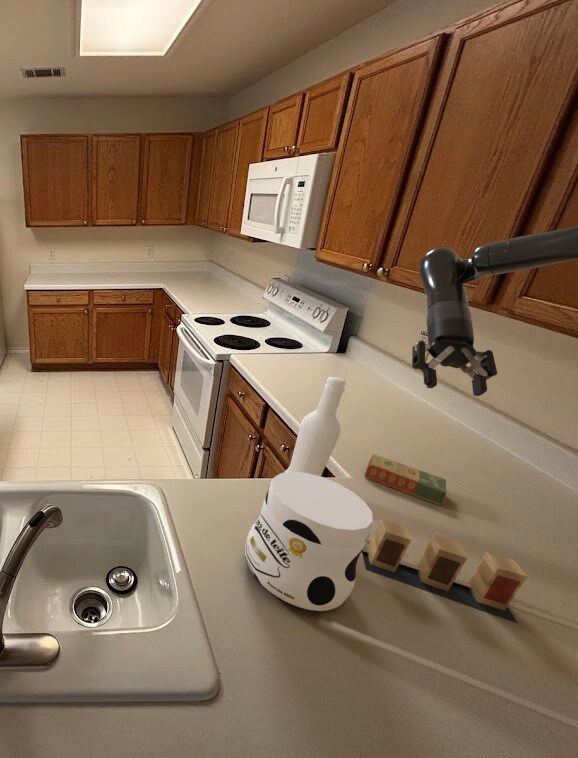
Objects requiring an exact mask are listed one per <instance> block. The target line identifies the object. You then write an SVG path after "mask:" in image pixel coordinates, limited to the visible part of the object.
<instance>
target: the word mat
mask: <svg viewBox="0 0 578 758" xmlns="http://www.w3.org/2000/svg"><path fill="white" fill-rule="evenodd" d="M367 553H368V552H367V551H365V550H362V552H361V554H362V559H363V564H364V568H365V570H366V571H368V572H370V573H374V574H377V575H379V576H382V577H385V578H388V579H391V580H392V581H393V580H394V581H396V582H399V583H402V584H405V585H406V586H410V587H413V588H416V589H418V590H422V591H424V592H427V593H430V594H433V595H436V596H438V597H441V598H444V599H447V600H450V601H453V602H456V603H458V604H462V605H464V606H467V607H469V608H473V609H476V610H478V611H481V612H483V613H487V614H489V615H493V616H495V617H498V618H500V619H504V620H506V621H509V622H512V623H515V624H517V625H518V624H519V622H518V621H517V619H516V617H515V616H514V614H513V612H512V611H511V609H510V607H509V605H508V606H507V608H506V609H505V610H502V609H498V608H495V607H492V606H489V605H485V604H482V603H479V602H477V601H476V600H475V598H474V597H473V595H472V593H471V592H470V590H469V588H468V587H469V586H468V585H464V584H461V583H457V581H456V582H455V581H454V582H453V584H452V585H451V587H450V589H449V591H445V590H442V589H439V588H437V587H434V586H431V585H428V584H425V583H422V582H421V580H420V578H419V575H418V572H417V570H418V569H417V568H414V567H412V566H408V565H405V564H403V563H402V564H401V562H400V563H399V565H398V567H397V569H396V571H395V573H394V572H391V571H388V570H385V569H382V568H379V567H377V566H374V565H371V564H370V562H369V558H368V554H367ZM416 569H417V570H416Z"/></svg>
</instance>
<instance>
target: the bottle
mask: <svg viewBox="0 0 578 758" xmlns="http://www.w3.org/2000/svg"><path fill="white" fill-rule="evenodd" d="M345 386H346V380H345V379H343V378H342V377H338V376H328V378H327V379H326V383H325V384H324V386H323V387H324V389H323V392H322V394H321V396H320V400H319V402H318V405H317V408H316V409H315V410H314V411H311V412H310V413H308V414H306V415H305V416H304V417H303V419H302V420H301V423H300V425H299V429H298V433H297V437H296V440H295V445H294V449H293V453H292V456H291V460H290V464H289V465H288V468H287V469H286V470H285V471H284V472H283V473H285V472H303V473H309V474H313V475H317V476H320V477H322V475H323V473H324V470H325V469H326V466H327V464H328V462H329V459H330V458H331V455H332V453H333V451H334V449H335V446H336V444H337V443H338V441H339V437H340V435H341V425H340V422H339V420H338V418H337V416H336V414H337V412H338V408H339V405H340V403H341V398H342V396H343V393H345Z"/></svg>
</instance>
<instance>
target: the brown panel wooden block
mask: <svg viewBox="0 0 578 758" xmlns="http://www.w3.org/2000/svg"><path fill="white" fill-rule="evenodd" d="M467 560H468V556H467V554H466V553H465V551H464V549H463V547H462V546H461V544H460V542H456V541H453V540H449V539H447V538H443V537H441V536H436V535H433V534H432V535H431V537H430V539H429V541H428V543H427V545H426V547H425V548H424V550H423V552H422V554H421V556H420V558H419V559H418V562H417V564H416V566H417V568H418V569H417V568H415V569H416V570H417V572H418V575H419V578H420V580H421V582H422V583H425V584H428V585H431V586H434V587H437V588H439V589H442V590H445V591H449V589H450V587H451V585H452V584H453V582H455V580H456V578H457V577H458V575H459V573H460V572H461V570H462V568H463V566H464V565H465V563H466V562H467Z"/></svg>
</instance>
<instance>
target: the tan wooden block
mask: <svg viewBox="0 0 578 758" xmlns="http://www.w3.org/2000/svg"><path fill="white" fill-rule="evenodd" d="M411 541H412V538H411V536H410V534H409V531H408V530H407V527H406V526H404V525H401V524H398V523H395V522H391V521H388V520H385V519H380V520H379V523H378V525H377V527H376V529H375V532H374V534H373V536H372V538H371V540H370V541H369V544H368V547H367V551H368V552H367V554H368V558H369V562H370V564H371V565H374V566H377V567H379V568H382V569H385V570H388V571H391V572H394V573H395V571H396V569H397V567H398V565H399V563H400V564H401V562H402V560H403V558H404V556H405V553H406V551H407V549H408V547H409V545H410V544H411Z"/></svg>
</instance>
